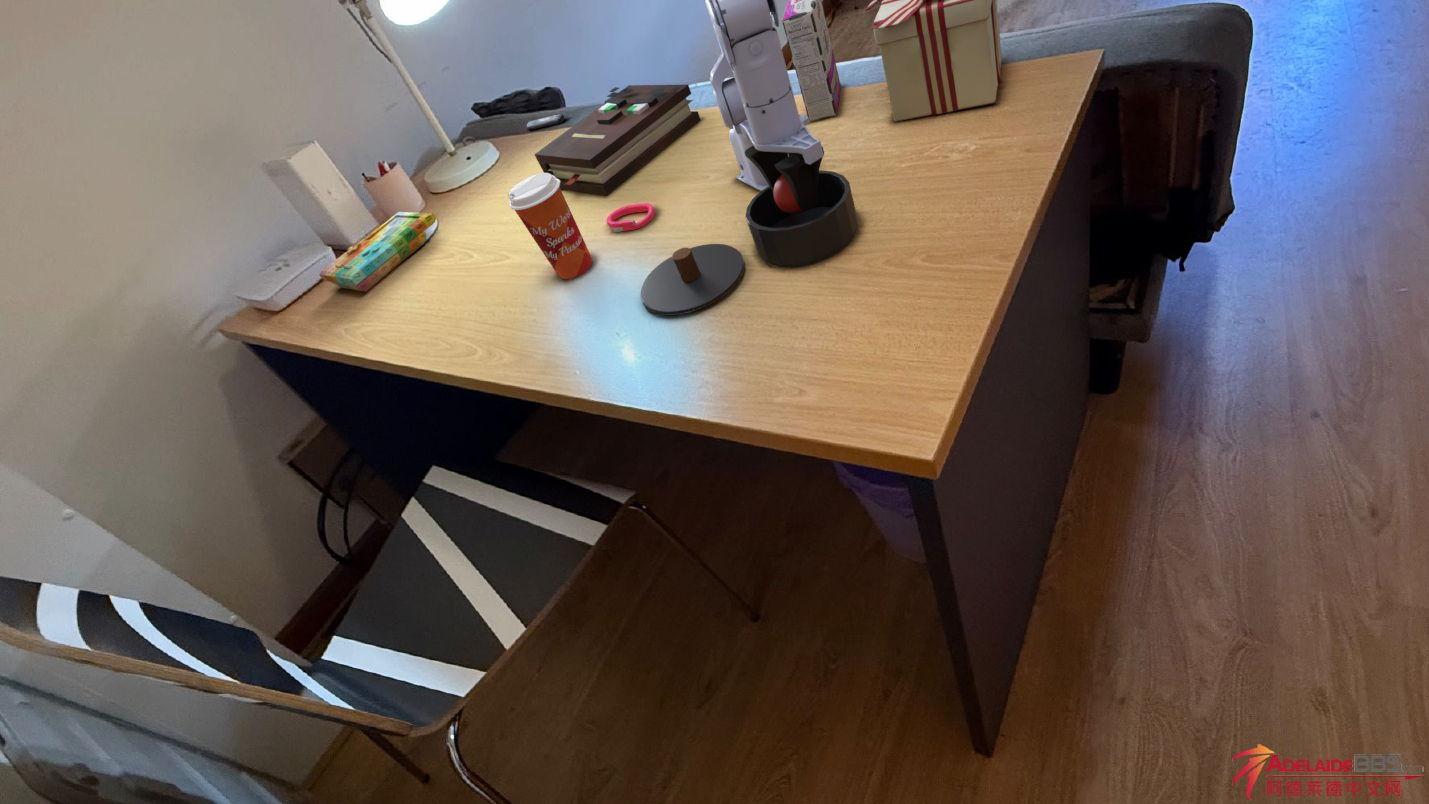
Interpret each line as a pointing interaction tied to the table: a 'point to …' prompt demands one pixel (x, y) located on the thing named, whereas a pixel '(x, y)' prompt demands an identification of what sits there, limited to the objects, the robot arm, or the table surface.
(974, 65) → the gift box
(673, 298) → the lid
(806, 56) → the candy bar box
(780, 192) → the apple
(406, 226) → the puzzle game
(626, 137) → the decorative book
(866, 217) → the table surface
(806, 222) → the pan
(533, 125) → the usb stick
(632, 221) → the fitness band
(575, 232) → the paper cup
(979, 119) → the table surface
